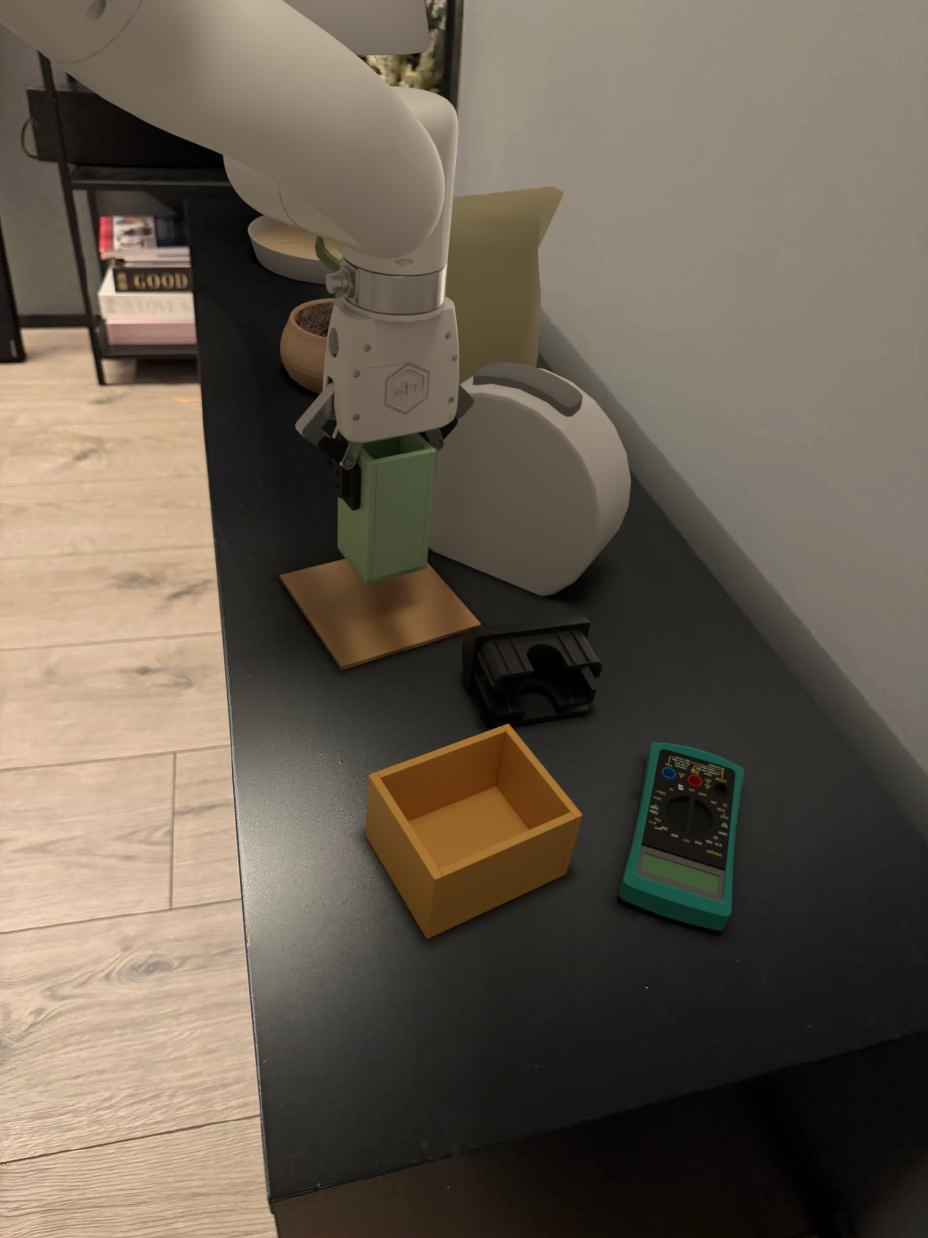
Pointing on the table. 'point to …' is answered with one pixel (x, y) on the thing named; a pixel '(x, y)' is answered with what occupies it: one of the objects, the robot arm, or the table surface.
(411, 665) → the table surface
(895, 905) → the table surface
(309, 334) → the potted plant
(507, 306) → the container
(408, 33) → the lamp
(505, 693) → the end cap
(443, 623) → the cork mat
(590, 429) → the alarm clock
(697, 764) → the digital multimeter
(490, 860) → the ochre bin
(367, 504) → the sage tub
